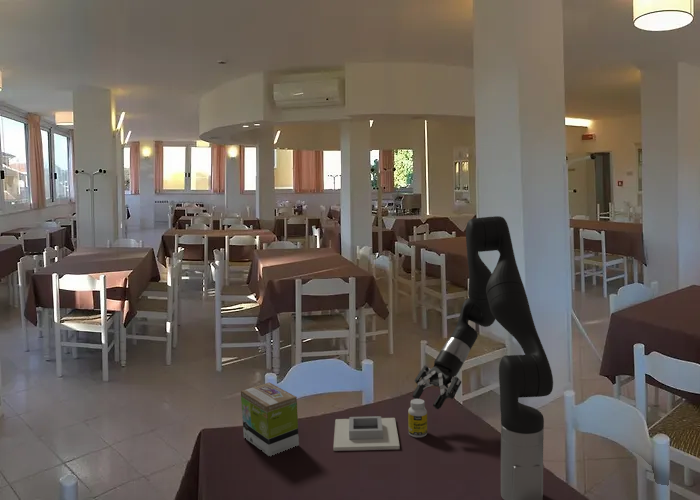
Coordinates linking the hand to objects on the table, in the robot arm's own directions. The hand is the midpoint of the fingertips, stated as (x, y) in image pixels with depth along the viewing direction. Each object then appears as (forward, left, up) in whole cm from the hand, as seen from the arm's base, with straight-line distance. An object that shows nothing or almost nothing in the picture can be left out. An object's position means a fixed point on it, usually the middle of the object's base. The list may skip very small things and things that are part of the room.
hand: (424, 403), depth 162 cm
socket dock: (-2, +17, -8) cm, 19 cm away
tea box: (-5, +44, -9) cm, 45 cm away
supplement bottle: (-2, +2, -9) cm, 9 cm away
